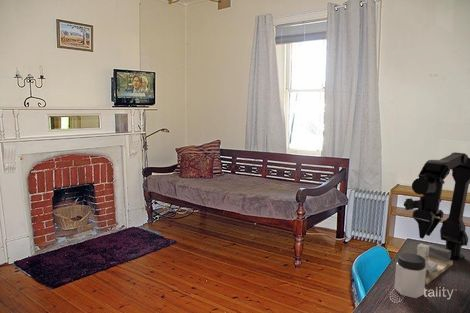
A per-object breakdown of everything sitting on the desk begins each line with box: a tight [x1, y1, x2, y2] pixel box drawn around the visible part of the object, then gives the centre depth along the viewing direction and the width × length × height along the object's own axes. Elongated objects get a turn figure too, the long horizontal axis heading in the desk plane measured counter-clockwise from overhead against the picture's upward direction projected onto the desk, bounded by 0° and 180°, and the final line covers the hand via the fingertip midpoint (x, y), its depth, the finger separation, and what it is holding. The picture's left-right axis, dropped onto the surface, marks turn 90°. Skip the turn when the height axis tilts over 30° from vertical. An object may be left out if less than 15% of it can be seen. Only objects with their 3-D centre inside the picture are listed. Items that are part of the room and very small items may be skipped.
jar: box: [394, 252, 426, 299], centre depth 119 cm, size 9×8×12 cm
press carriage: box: [416, 242, 438, 276], centre depth 132 cm, size 8×8×9 cm
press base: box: [425, 244, 454, 285], centre depth 136 cm, size 24×10×6 cm, turn 131°
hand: (424, 236), depth 131 cm, fingers open, 9 cm apart
